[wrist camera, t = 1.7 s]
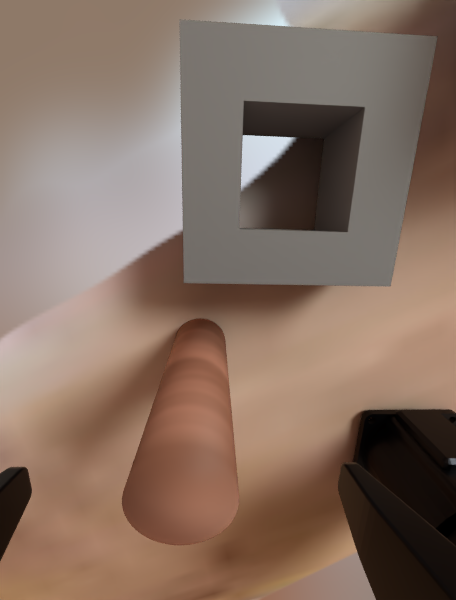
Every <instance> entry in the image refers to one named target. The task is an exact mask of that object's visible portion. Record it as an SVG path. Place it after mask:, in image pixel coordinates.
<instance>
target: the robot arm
mask: <svg viewBox="0 0 456 600" xmlns="http://www.w3.org/2000/svg"><path fill="white" fill-rule="evenodd" d="M370 418H371V419H370ZM369 419H370V420H369ZM338 491H339V495H340V498H341V501H342V504H343V508H344V511H345V514H346V517H347V521H348V524H349V527H350V530H351V533H352V537H353V540H354V543H355V546H356V549H357V552H358V555H359V558H360V560H361V563H362V565H363V568H364V571H365V573H366V575H367V578H368V581H369V583H370V586H371V588H372V591H373V593H374V595H375V598H376V600H456V413H455V412H454V411H452V410H368V411H366V412H364V413H363V414H362V417H361V422H360V428H359V433H358V438H357V444H356V449H355V455H354V460H353V463H343V464H342V465H341V469H340V475H339V481H338ZM31 493H32V488H31V483H30V478H29V473H28V469H27V468H26V467H10V468H8V469H6V470H5V471H3V472H2V473H0V561H1V559H2V557H3V555H4V552H5V550H6V548H7V546H8V544H9V542H10V540H11V538H12V536H13V533H14V531H15V529H16V527H17V525H18V523H19V521H20V519H21V517H22V515H23V512H24V510H25V508H26V506H27V504H28V502H29V500H30V497H31Z"/></svg>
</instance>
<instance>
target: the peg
mask: <svg viewBox="0 0 456 600" xmlns="http://www.w3.org/2000/svg"><path fill="white" fill-rule="evenodd" d="M122 506H123V511H124V514H125V516H126V518H127V520H128V521H129V523H130V524H131V525H132V526H133V527H134V528H135V529H136V530H137V531H138V532H139V533H141V534H142V535H144V536H146V537H147V538H149V539H152V540H154V541H157V542H160V543H165V544H171V545H190V544H195V543H199V542H203V541H206V540H208V539H211V538H213V537H215V536H216V535H218V534H219V533H221V532H222V531H223V530H225V529H226V528H227V527H228V526H229V525H230V523H231V522H232V521H233V519H234V518H235V515H236V513H237V511H238V507H239V489H238V478H237V467H236V456H235V445H234V434H233V422H232V411H231V400H230V389H229V378H228V367H227V355H226V344H225V336H224V333H223V331H222V330H221V328H220V327H219V326H218V325H217V324H216V323H214V322H212V321H210V320H207V319H193V320H190V321H188V322H186V323H185V324H184V325H182V327H181V328H180V329H179V330H178V332H177V335H176V338H175V341H174V344H173V347H172V350H171V353H170V356H169V359H168V362H167V364H166V367H165V370H164V373H163V376H162V379H161V382H160V385H159V388H158V391H157V394H156V397H155V400H154V403H153V406H152V409H151V412H150V415H149V418H148V420H147V423H146V426H145V429H144V432H143V435H142V438H141V441H140V444H139V447H138V450H137V453H136V456H135V459H134V462H133V465H132V468H131V471H130V474H129V477H128V479H127V482H126V485H125V488H124V491H123V496H122Z"/></svg>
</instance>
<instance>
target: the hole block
mask: <svg viewBox="0 0 456 600" xmlns="http://www.w3.org/2000/svg"><path fill="white" fill-rule="evenodd" d="M437 37H438V36H424V35H408V34H393V33H378V32H363V31H347V30H332V29H317V28H302V27H287V26H271V25H256V24H240V23H226V22H211V21H210V22H209V21H195V20H180V71H181V72H180V74H181V133H182V134H181V135H182V191H183V192H182V195H183V197H182V198H183V260H184V283H213V284H274V285H334V286H391V281H392V276H393V271H394V265H395V260H396V255H397V249H398V244H399V239H400V233H401V228H402V223H403V218H404V212H405V207H406V202H407V196H408V191H409V186H410V180H411V175H412V170H413V165H414V159H415V154H416V149H417V143H418V138H419V133H420V127H421V122H422V117H423V112H424V106H425V101H426V96H427V90H428V85H429V80H430V74H431V69H432V64H433V59H434V53H435V48H436V43H437ZM242 135H255V136H278V137H279V136H280V137H300V138H322V139H324V143H323V152H322V162H321V171H320V180H319V190H318V199H317V208H316V218H315V227H314V230H300V229H263V228H239V217H240V190H241V163H242V160H241V159H242Z"/></svg>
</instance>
